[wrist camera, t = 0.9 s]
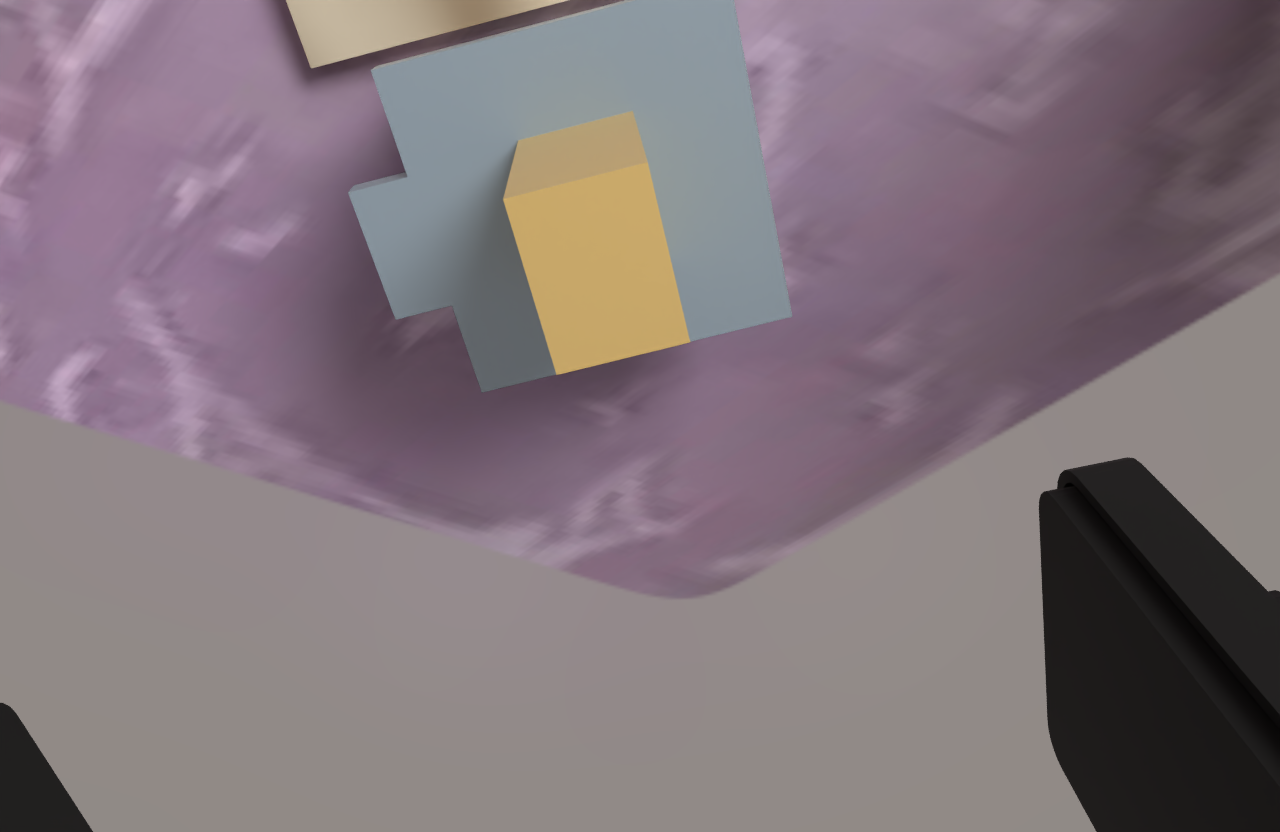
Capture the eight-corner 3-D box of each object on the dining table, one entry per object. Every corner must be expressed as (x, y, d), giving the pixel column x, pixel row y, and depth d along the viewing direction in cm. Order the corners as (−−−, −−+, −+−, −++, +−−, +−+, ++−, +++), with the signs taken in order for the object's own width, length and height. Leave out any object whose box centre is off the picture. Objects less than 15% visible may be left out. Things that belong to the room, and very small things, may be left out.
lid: (724, -27, 25) (772, -8, 19) (787, 306, 29) (842, 410, 23) (316, 82, 26) (235, 133, 20) (431, 394, 30) (394, 517, 24)
